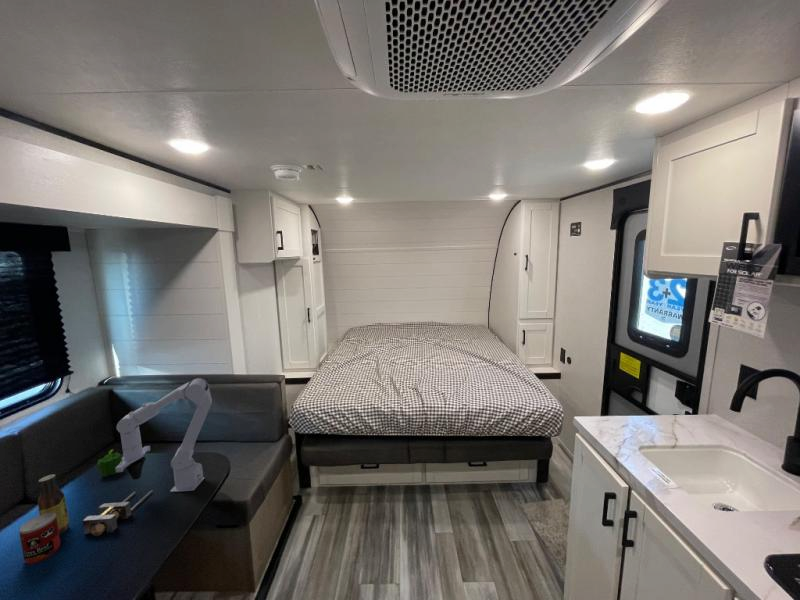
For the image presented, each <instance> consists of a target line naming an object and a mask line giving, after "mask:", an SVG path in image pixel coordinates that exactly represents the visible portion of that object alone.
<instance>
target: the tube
mask: <svg viewBox="0 0 800 600" xmlns="http://www.w3.org/2000/svg"><path fill="white" fill-rule="evenodd" d="M112 510H113V509H112ZM112 510H111V511H112ZM111 511H110V512H111ZM111 514H116V519H117V520H118V519H119V518H121V512H120V509H114V510H113V511H112V512H111V513H109V514H108V515H111ZM105 531H106V524H105V522H97V523H96V524H95V526H94V527H93V528H92V530H91V534H92V535H93V536H94V537H99V536H100V535H102V534H103V533H104V532H105Z"/></svg>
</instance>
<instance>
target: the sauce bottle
mask: <svg viewBox="0 0 800 600" xmlns="http://www.w3.org/2000/svg"><path fill="white" fill-rule="evenodd" d="M38 485H39V488H40V496H39V497H38V499H37V505H38V514H39V515H38V516H40V515H42V514H46V513H51V512H52V513H55V514H56V517H57V523H58V530H59V535H61V534H63V533H64V532H66V531H67V530H68V529H69V527H70V523H69V522H70V520H69V514H68V507H67V502H66V498H65V493H64V492H63V491H62V490H61V489H60V487H59V486H58V483H57V476H56V474H53V473H52V474H48V475H46V476H44V477H42V478H39V480H38Z"/></svg>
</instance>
